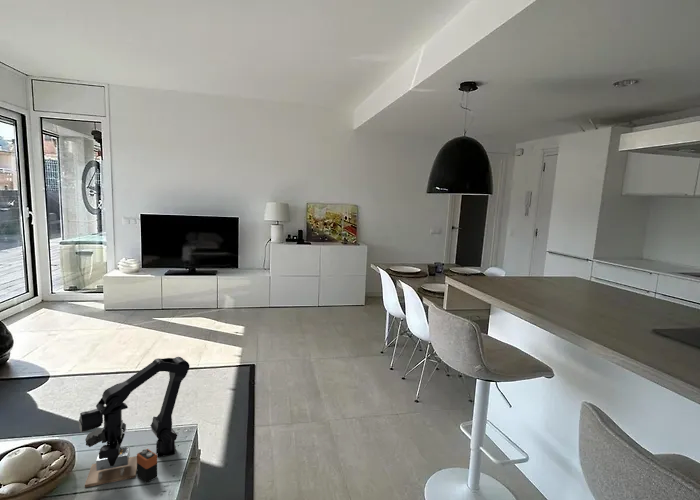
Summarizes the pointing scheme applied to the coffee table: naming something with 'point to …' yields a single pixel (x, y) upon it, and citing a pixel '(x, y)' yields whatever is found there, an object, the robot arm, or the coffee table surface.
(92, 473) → the brown board with pegs
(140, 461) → the battery
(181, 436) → the coffee table surface
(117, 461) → the block
